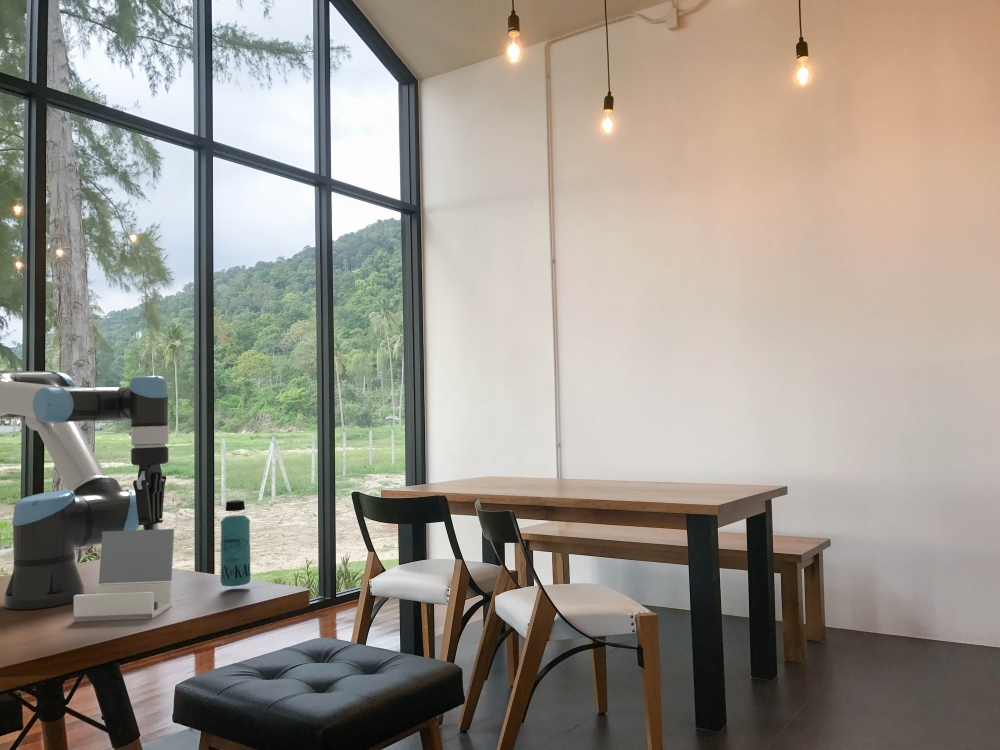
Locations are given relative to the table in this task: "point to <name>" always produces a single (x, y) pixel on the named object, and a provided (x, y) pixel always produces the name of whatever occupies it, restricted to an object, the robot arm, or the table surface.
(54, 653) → the table surface
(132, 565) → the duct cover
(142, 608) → the white boxy piece
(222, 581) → the beverage bottle
